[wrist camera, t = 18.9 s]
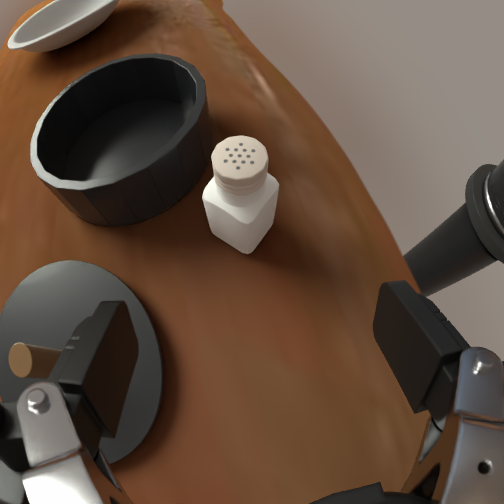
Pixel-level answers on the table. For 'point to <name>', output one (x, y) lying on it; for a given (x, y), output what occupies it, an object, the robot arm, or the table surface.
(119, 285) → the lid
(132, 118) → the pot
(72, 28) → the soup bowl
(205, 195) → the pepper shaker
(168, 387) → the table surface
